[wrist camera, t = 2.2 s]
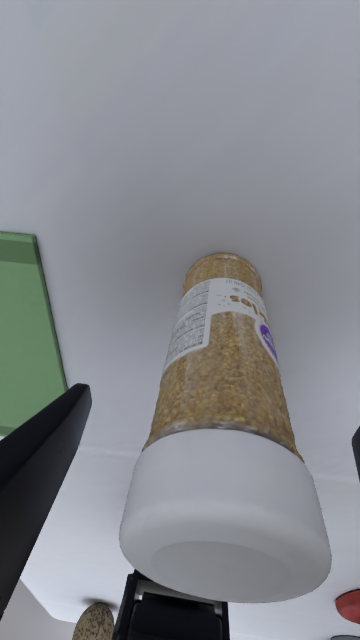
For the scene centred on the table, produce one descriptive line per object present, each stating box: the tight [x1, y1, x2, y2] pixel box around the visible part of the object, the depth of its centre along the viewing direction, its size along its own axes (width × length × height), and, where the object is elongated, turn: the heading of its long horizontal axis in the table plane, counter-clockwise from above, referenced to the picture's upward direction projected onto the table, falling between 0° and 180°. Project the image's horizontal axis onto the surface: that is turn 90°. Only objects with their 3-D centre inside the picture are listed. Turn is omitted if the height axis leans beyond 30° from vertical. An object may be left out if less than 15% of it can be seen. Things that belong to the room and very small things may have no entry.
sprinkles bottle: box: [119, 253, 332, 603], centre depth 12 cm, size 5×5×14 cm
